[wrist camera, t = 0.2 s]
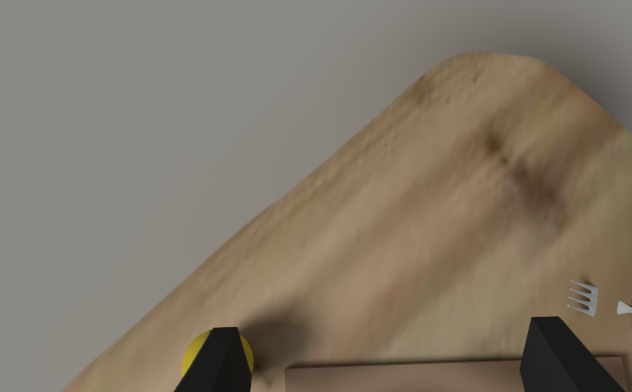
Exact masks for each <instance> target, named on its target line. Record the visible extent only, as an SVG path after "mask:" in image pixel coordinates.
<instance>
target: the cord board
mask: <svg viewBox="0 0 632 392" xmlns="http://www.w3.org/2000/svg"><path fill="white" fill-rule="evenodd" d="M594 357H595V358H596V359H597V361H598V362H599V363H600V364H601V365H602V366H603V367H604V368H605V370H606V371H607V372H608V373H609V374H610V375H611V376H612V377H613V378H614V379H615V380H616V382H617V383H618V384H619V385H620V386H621V387H622V388H623V389H624V390H625V391H626V392H628V389H627V383H626V377H625V371H624V366H623V360H622V357H620V356H616V355H613V356H594ZM521 360H522V359H503V360H476V361H449V362H421V363H394V364H367V365H339V366H312V367H287V368H286V369H285V383H286V392H525V390H524V386H523V382H522V378H521V374H520V370H519V369H520V365H521Z"/></svg>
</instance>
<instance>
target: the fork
mask: <svg viewBox="0 0 632 392" xmlns="http://www.w3.org/2000/svg"><path fill="white" fill-rule="evenodd" d="M571 282H574V283H576V284H578V285H580V286H583V287H585V288H587V289H589V290H591V293H586V292H582V291H578V290H574V289H570V290H572V291H574V292H577V293H579V294H581V295H583V296H586V297H588V298H590V301H584V300H580V299H576V298H572V297H568V298H570V299H573V300H575V301H577V302H580V303H582V304H584V305H587V306H588V307H589V309H588V310H587V309H582V308H578V307H573V306H569V305H567V306H568V307H571V308H573V309H575V310H578V311H580V312H583V313H586V314H588V315H591V316H595V314H596V306H597V298H598V287H596V286H591V285H587V284H583V283H580V282H576V281H573V280H571ZM617 313H618V314H624V313H632V307H630V306H628V305H626V304H625V303H624V302H622V301H619V303H618V308H617Z"/></svg>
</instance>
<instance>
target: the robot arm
mask: <svg viewBox="0 0 632 392" xmlns="http://www.w3.org/2000/svg"><path fill="white" fill-rule="evenodd" d="M519 370H520V374H521V378H522V382H523V386H524V390H525V392H626V391H625V390H624V389H623V388H622V387H621V386H620V385H619V384H618V383H617V382H616V380H615V379H614V378H613V377H612V376H611V375H610V374H609V373H608V372H607V371H606V370H605V368H604V367H603V366H602V365H601V364H600V363H599V362H598V361H597V359H596V358H595V357H594V356H593V355H592V354H591V353H590V352H589V350H588V349H587V348H586V347H585V346H584V345H583V344H582V342H581V341H580V340H579V339H578V338H577V337H576V335H575V334H574V333H573V332H572V331H571V330H570V328H569V327H568V326H567V325H566V324H565V323H564V321H563V320H562V319H561V318H560V317H558V316H554V317H531V322H530V326H529V330H528V335H527V339H526V343H525V348H524V352H523V356H522V360H521V365H520V369H519ZM251 379H252V375H251V371H250V368H249V365H248V361H247V358H246V355H245V351H244V348H243V345H242V341H241V338H240V335H239V331H238V328H237V327H221V328H213V329H212V330H211V331H210V333H209V335H208V336H207V338H206V340H205V342H204V343H203V345H202V347H201V348H200V350H199V352H198V354H197V355H196V357H195V359H194V360H193V362H192V364H191V365H190V367H189V368H188V370H187V372H186V373H185V375H184V376H183V378H182V380H181V381H180V383H179V384H178V386H177V387H176V389H175V390H174V392H250V390H251Z"/></svg>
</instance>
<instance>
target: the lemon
mask: <svg viewBox="0 0 632 392" xmlns="http://www.w3.org/2000/svg"><path fill="white" fill-rule="evenodd" d="M210 331H211V330H209V331H207V332H205V333H203V334H201V335H200V336H198V337H197V338H196V339H195V340H194V341H192V343H191V344H190V345H189V347H188V348H187V350H186V352H185V354H184V357H183V360H182V366H181V371H182V378H183V376H184V375H185V373H186V372H187V370H188V368H189V367H190V365H191V364H192V362H193V360H194V359H195V357H196V355H197V354H198V352H199V350H200V348H201V347H202V345H203V343H204V342H205V340H206V338H207V336H208V335H209V333H210ZM239 335H240V334H239ZM240 338H241V341H242V345H243V348H244V351H245V355H246V358H247V361H248V365H249V368H250V371H251V374H252V370H253V362H254V358H253V353H252V349H251V347H250V345H249V343H248V342H247V341H246V339H245V338H244V337H243V336H241V335H240Z"/></svg>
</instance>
